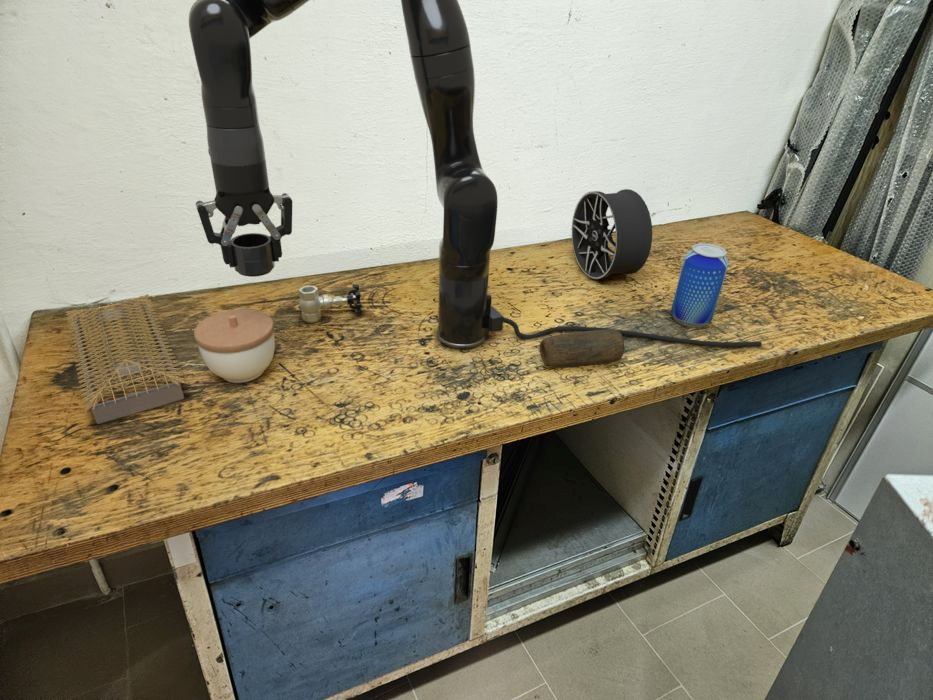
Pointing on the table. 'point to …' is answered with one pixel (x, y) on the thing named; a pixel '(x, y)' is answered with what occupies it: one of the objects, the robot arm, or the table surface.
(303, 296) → the valve
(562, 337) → the brown wooden log
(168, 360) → the rafter model
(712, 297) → the beer can
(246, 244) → the dark gray metal cup
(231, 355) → the lidded bowl
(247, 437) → the table surface
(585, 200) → the wheel rim
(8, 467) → the table surface
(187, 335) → the table surface
